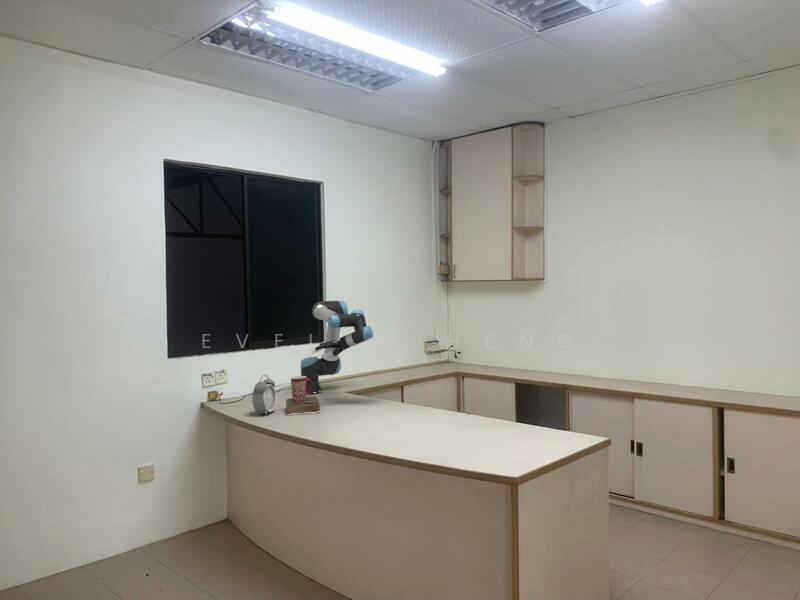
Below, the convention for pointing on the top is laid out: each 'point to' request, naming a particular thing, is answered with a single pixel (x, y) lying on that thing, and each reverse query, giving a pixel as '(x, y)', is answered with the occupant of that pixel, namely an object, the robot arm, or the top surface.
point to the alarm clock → (264, 396)
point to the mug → (299, 388)
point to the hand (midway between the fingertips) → (317, 354)
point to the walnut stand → (302, 405)
